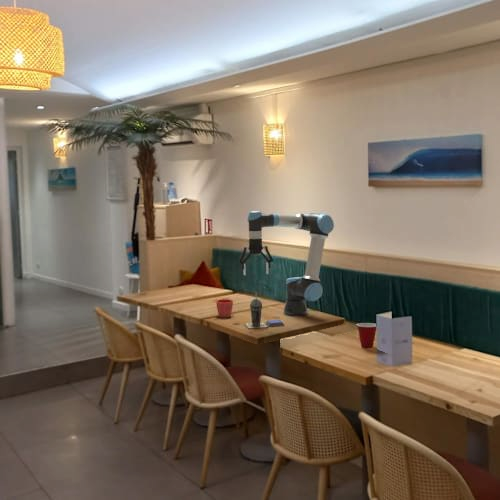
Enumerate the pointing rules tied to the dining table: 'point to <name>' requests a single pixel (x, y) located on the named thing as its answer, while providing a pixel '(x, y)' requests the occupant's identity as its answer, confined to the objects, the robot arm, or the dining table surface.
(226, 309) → the flower pot
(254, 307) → the beverage cup
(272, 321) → the ink pad
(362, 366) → the dining table surface
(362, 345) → the plastic cup
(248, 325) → the marked board
